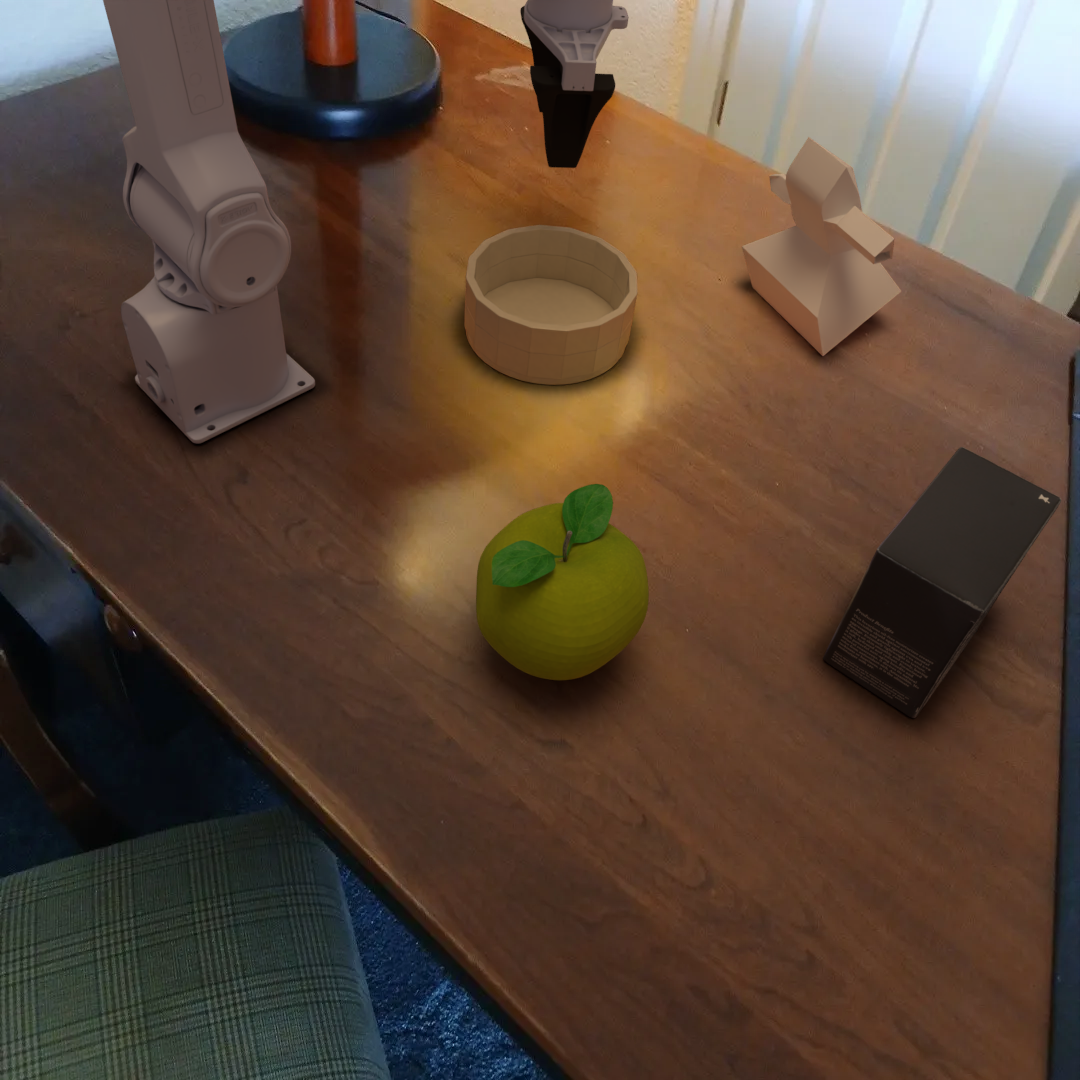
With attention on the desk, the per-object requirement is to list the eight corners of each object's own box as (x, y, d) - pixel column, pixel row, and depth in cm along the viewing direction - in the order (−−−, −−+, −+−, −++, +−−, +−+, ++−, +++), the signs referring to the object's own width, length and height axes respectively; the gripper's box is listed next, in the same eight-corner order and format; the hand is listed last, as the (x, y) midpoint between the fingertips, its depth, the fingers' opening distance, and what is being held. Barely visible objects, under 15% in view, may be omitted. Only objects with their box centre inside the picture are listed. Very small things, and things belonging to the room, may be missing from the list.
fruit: (438, 642, 60) (439, 529, 52) (550, 556, 65) (566, 441, 57) (554, 746, 56) (573, 641, 49) (664, 647, 61) (697, 537, 53)
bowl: (541, 409, 73) (548, 353, 69) (431, 319, 78) (431, 263, 74) (660, 340, 79) (672, 285, 75) (550, 261, 84) (556, 206, 80)
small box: (896, 555, 67) (959, 438, 59) (990, 611, 65) (1070, 497, 57) (814, 657, 61) (873, 543, 53) (914, 723, 59) (991, 614, 51)
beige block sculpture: (794, 242, 89) (843, 84, 78) (904, 341, 81) (974, 182, 71) (713, 265, 86) (752, 104, 75) (819, 370, 78) (879, 208, 68)
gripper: (654, -8, 63) (623, 192, 74) (622, -100, 73) (598, 90, 83) (538, -13, 63) (523, 190, 73) (521, -106, 72) (509, 86, 82)
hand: (556, 137), depth 78 cm, fingers open, 7 cm apart
